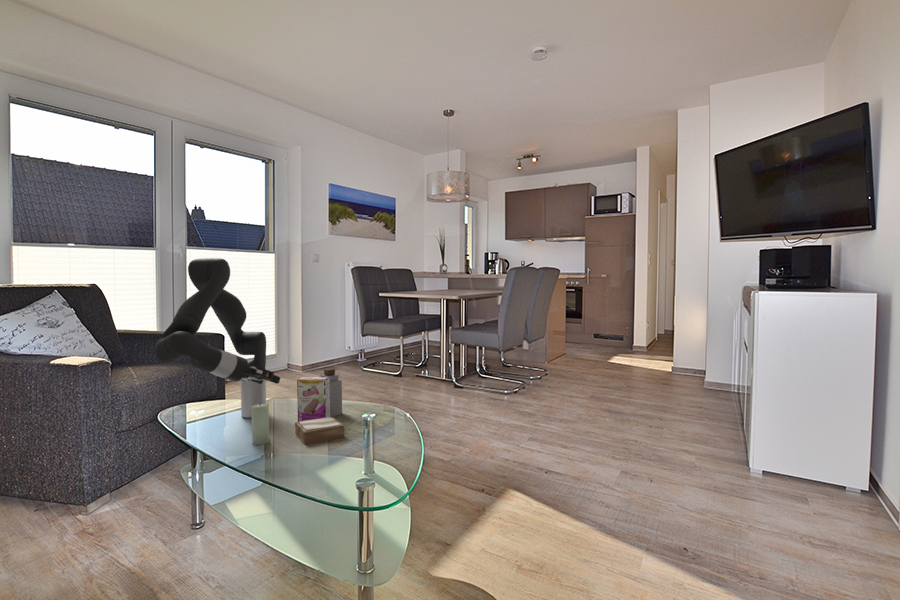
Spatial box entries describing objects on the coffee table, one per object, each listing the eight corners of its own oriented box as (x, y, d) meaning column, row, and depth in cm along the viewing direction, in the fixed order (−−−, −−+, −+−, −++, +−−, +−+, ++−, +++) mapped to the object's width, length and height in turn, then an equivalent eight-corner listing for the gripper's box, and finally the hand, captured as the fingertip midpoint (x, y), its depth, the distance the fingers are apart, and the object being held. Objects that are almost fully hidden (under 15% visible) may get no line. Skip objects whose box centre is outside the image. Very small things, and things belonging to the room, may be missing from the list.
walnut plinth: (295, 433, 157) (295, 421, 157) (332, 427, 163) (332, 415, 163) (304, 444, 146) (304, 431, 145) (344, 437, 152) (343, 424, 152)
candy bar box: (297, 422, 170) (296, 379, 169) (302, 419, 174) (301, 376, 174) (326, 423, 168) (325, 379, 168) (330, 419, 173) (330, 376, 173)
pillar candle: (251, 441, 149) (250, 402, 149) (268, 438, 152) (267, 400, 152) (253, 446, 145) (252, 405, 145) (270, 443, 148) (269, 403, 147)
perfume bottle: (334, 410, 186) (333, 367, 185) (342, 414, 181) (341, 369, 180) (318, 414, 181) (317, 369, 180) (326, 417, 176) (325, 371, 175)
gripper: (246, 352, 135) (288, 369, 147) (217, 354, 142) (260, 370, 154) (237, 377, 132) (281, 392, 144) (209, 378, 139) (253, 392, 151)
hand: (270, 380), depth 149 cm, fingers open, 8 cm apart
